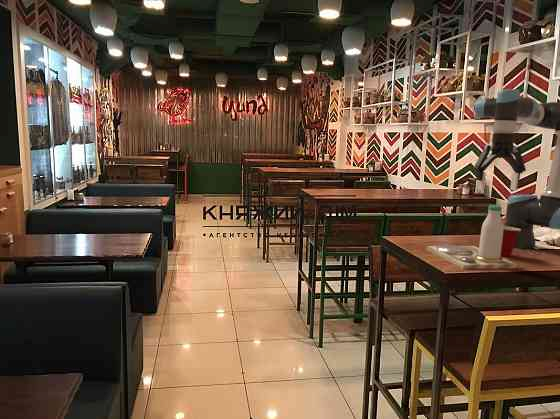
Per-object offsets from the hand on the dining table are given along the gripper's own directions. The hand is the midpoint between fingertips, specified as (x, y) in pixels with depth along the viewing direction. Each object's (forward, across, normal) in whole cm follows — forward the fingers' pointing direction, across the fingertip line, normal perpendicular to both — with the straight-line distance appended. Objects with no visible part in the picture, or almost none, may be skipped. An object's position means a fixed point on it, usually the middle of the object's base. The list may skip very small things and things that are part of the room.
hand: (497, 189), depth 178 cm
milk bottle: (+26, 0, 0) cm, 26 cm away
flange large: (+27, +7, -13) cm, 31 cm away
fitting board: (+28, +4, -7) cm, 30 cm away
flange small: (+27, +10, +2) cm, 29 cm away
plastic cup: (+29, -15, -12) cm, 34 cm away
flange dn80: (+27, 0, 0) cm, 27 cm away
